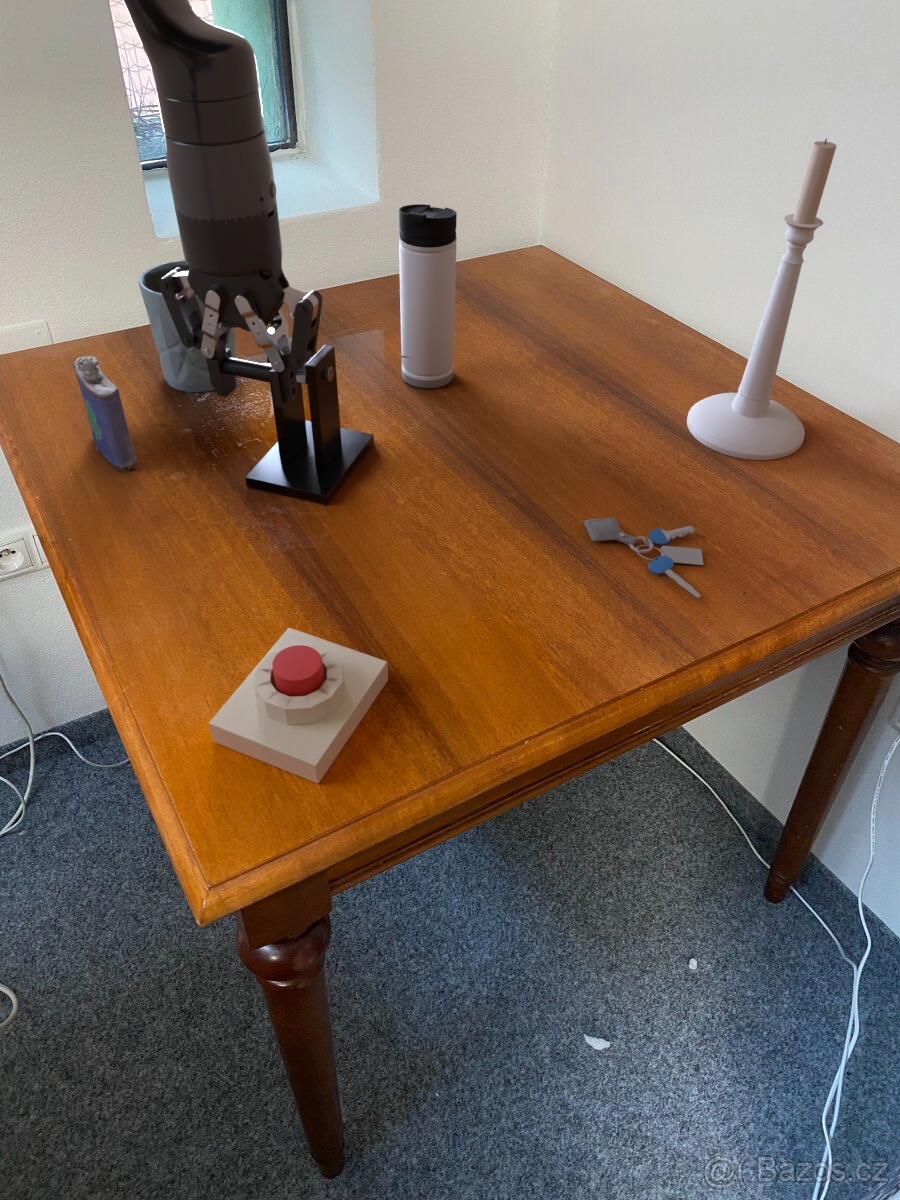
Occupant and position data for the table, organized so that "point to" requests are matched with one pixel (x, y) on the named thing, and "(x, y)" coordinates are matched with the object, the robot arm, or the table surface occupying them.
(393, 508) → the table surface
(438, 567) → the table surface
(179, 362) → the grey hollow tapered cylinder
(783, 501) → the table surface
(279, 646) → the button box
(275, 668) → the button
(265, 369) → the lever
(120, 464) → the blue squeeze pouch
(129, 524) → the table surface
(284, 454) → the bracket
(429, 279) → the travel mug
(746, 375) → the candlestick
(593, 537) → the key chain
